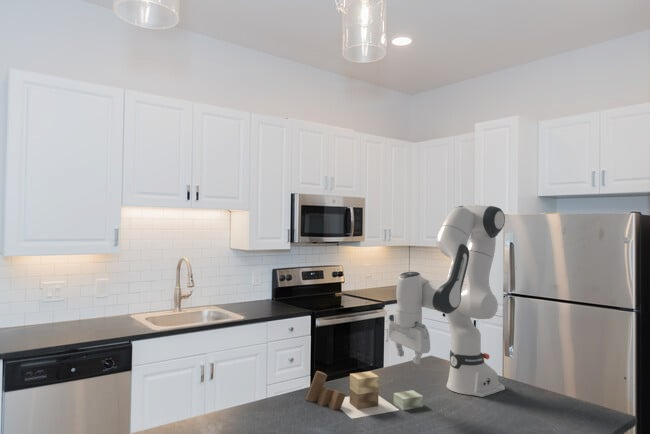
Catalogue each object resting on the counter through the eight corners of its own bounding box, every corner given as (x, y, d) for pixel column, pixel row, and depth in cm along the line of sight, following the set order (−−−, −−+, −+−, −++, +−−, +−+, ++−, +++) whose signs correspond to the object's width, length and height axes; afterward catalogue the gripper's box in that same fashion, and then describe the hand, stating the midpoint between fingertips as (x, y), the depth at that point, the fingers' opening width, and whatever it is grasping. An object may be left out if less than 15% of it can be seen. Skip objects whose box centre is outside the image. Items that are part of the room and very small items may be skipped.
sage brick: (412, 404, 158) (412, 390, 158) (422, 410, 152) (423, 396, 153) (393, 407, 155) (393, 393, 155) (403, 414, 149) (403, 399, 149)
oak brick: (369, 385, 158) (370, 371, 158) (378, 391, 153) (378, 376, 153) (349, 388, 155) (349, 373, 155) (358, 394, 149) (358, 379, 149)
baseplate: (374, 395, 165) (374, 392, 165) (399, 413, 149) (399, 410, 149) (329, 402, 158) (329, 399, 158) (351, 422, 142) (351, 418, 142)
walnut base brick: (369, 399, 158) (369, 385, 158) (378, 406, 152) (378, 391, 153) (349, 403, 155) (349, 388, 155) (357, 409, 149) (357, 394, 149)
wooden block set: (341, 418, 151) (352, 388, 153) (321, 413, 147) (333, 382, 149) (316, 398, 166) (326, 371, 168) (297, 392, 162) (308, 365, 164)
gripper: (435, 324, 146) (434, 367, 146) (400, 313, 165) (399, 351, 164) (419, 326, 144) (418, 369, 143) (385, 314, 162) (385, 352, 162)
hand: (408, 359), depth 154 cm, fingers open, 8 cm apart
